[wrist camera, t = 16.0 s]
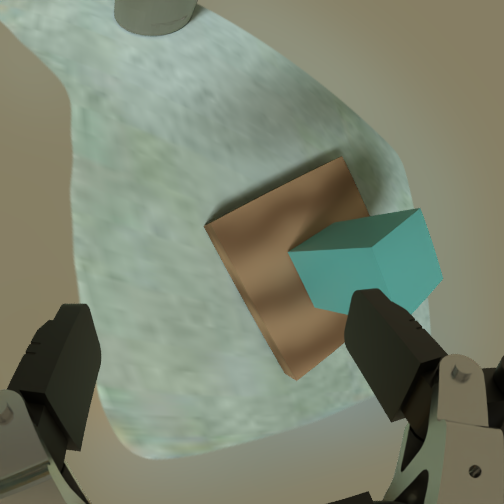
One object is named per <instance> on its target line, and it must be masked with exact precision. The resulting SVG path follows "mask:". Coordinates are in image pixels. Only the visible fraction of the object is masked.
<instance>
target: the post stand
mask: <svg viewBox="0 0 504 504" xmlns="http://www.w3.org/2000/svg"><path fill="white" fill-rule="evenodd" d="M364 217H369V213H368V211H367V209H366V206H365V204H364V202H363V200H362V197H361V195H360V193H359V191H358V188H357V186H356V184H355V182H354V180H353V178H352V176H351V173H350V171H349V169H348V167H347V165H346V163H345V161H344V159H343V157H342V156H341V157H339V158H337V159H335V160H332V161H330V162H328V163H326V164H324V165H322V166H320V167H318V168H316V169H314V170H312V171H309V172H307V173H305V174H303V175H301V176H299V177H297V178H295V179H293V180H291V181H289V182H287V183H285V184H283V185H281V186H279V187H277V188H275V189H274V190H272V191H270V192H268V193H266V194H264V195H262V196H260V197H258V198H256V199H254V200H252V201H250V202H248V203H246V204H244V205H243V206H241V207H239V208H237V209H235V210H233V211H231V212H229V213H227V214H225V215H224V216H222V217H220V218H218V219H216V220H214V221H212V222H211V223H209V224H207V225H205V226H204V228H205V230H206V232H207V233H208V235H209V237H210V239H211V241H212V243H213V245H214V247H215V248H216V250H217V252H218V254H219V256H220V258H221V260H222V262H223V263H224V265H225V267H226V269H227V271H228V273H229V274H230V276H231V278H232V280H233V282H234V284H235V285H236V287H237V289H238V291H239V293H240V295H241V296H242V298H243V300H244V302H245V304H246V305H247V307H248V309H249V311H250V313H251V314H252V316H253V318H254V320H255V322H256V323H257V325H258V327H259V329H260V331H261V332H262V334H263V336H264V338H265V339H266V341H267V343H268V345H269V347H270V348H271V350H272V352H273V354H274V355H275V357H276V359H277V361H278V362H279V364H280V366H281V368H282V369H283V371H284V373H285V374H287V375H288V376H290V377H291V378H293V379H295V380H296V381H297V380H298V379H300V378H301V377H302V376H303V375H305V374H306V373H307V372H309V371H310V370H311V369H312V368H314V367H315V366H316V365H318V364H319V363H320V362H321V361H323V360H324V359H325V358H326V357H328V356H329V355H330V354H331V353H332V352H334V351H335V350H336V349H337V348H338V347H340V346H341V345H342V344H343V343H344V342H345V341H344V330H345V325H346V321H347V316H348V315H346V314H342V313H337V312H332V311H328V310H323V309H319V308H315V307H314V305H313V303H312V301H311V299H310V297H309V295H308V293H307V291H306V289H305V286H304V284H303V282H302V280H301V278H300V276H299V274H298V272H297V270H296V268H295V266H294V264H293V262H292V260H291V258H290V256H289V254H288V252H289V251H290V250H292V249H293V248H295V247H296V246H298V245H300V244H301V243H303V242H304V241H306V240H307V239H309V238H311V237H312V236H314V235H315V234H317V233H318V232H320V231H322V230H323V229H325V228H326V227H328V226H329V225H331V224H333V223H335V222H340V221H346V220H352V219H358V218H364Z"/></svg>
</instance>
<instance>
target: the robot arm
mask: <svg viewBox="0 0 504 504" xmlns="http://www.w3.org/2000/svg"><path fill="white" fill-rule="evenodd" d="M197 1H198V0H115V6H114V16H115V19H116V21H117V23H118V24H119V25H120V26H121V27H122V28H124V29H125V30H127V31H129V32H132V33H134V34H139V35H145V36H159V35H165V34H169V33H172V32H175V31H177V30H179V29H180V28H182V27H183V26H184V25H186V24H187V23H188V21H189V20H190V18H191V16H192V13H193V11H194V8H195V6H196V3H197ZM344 341H345V345H346V348H347V350H348V351H349V353H350V355H351V356H352V358H353V359H354V361H355V363H356V364H357V366H358V368H359V369H360V371H361V373H362V374H363V376H364V378H365V379H366V381H367V383H368V384H369V386H370V387H371V389H372V391H373V392H374V394H375V396H376V398H377V399H378V401H379V403H380V404H381V406H382V407H383V409H384V411H385V413H386V414H387V416H388V418H389V419H390V421H391V422H394V421H397V420H400V419H403V418H406V419H407V421H408V424H407V425H406V427H405V430H404V435H403V440H402V444H401V449H400V453H399V458H398V462H397V466H396V470H395V474H394V477H393V480H392V482H391V484H390V486H389V488H388V490H387V492H386V493H385V495H384V498H383V500H382V501H373V500H372V498H371V496H370V494H369V492H365V493H362V494H359V495H355V496H352V497H349V498H346V499H342V500H339V501H335V502H331V503H328V504H504V356H503V357H502V359H501V361H500V363H499V364H498V366H497V368H484V369H481V367H480V366H479V365H478V364H477V363H476V362H475V361H474V360H472V359H471V358H469V357H466V356H463V355H458V354H451V355H448V354H447V353H446V352H445V351H444V350H443V349H442V348H441V347H440V345H439V344H438V343H437V342H436V341H435V340H434V339H433V338H432V337H431V336H430V334H429V333H428V332H427V331H426V330H425V329H422V326H421V325H420V324H419V323H418V322H417V321H415V318H414V317H413V316H412V315H411V314H410V313H409V312H408V311H407V310H406V309H405V308H403V307H401V306H399V305H398V304H396V303H394V302H393V301H392V302H391V301H390V299H389V298H388V297H387V296H386V295H385V294H384V293H383V292H382V291H381V290H380V289H378V288H372V289H363V290H356V291H354V293H353V295H352V298H351V303H350V307H349V312H348V316H347V321H346V325H345V330H344ZM100 365H101V348H100V344H99V340H98V337H97V334H96V330H95V327H94V323H93V319H92V316H91V312H90V309H89V307H88V305H87V304H63V305H62V306H61V307H60V309H59V311H58V312H57V314H56V316H55V318H54V320H49V321H47V322H46V323H45V324H44V325H43V326H42V327H41V328H39V329H38V330H37V332H36V334H35V335H34V337H33V339H32V341H31V344H30V345H29V346H28V348H27V350H26V354H25V355H24V356H23V357H22V359H21V362H20V363H19V365H18V367H17V369H16V371H15V373H14V375H13V377H12V379H11V381H10V384H9V386H8V388H7V390H0V504H92V503H91V502H90V500H89V498H88V497H87V496H86V494H85V492H84V491H83V489H82V488H81V486H80V484H79V483H78V481H77V479H76V478H75V476H74V474H73V473H72V471H71V469H70V468H69V466H68V464H67V462H66V461H65V460H64V459H65V454H66V449H67V450H74V451H81V446H82V441H83V436H84V431H85V426H86V421H87V417H88V413H89V408H90V404H91V400H92V396H93V392H94V388H95V384H96V380H97V376H98V372H99V369H100Z"/></svg>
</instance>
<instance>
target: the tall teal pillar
mask: <svg viewBox="0 0 504 504" xmlns="http://www.w3.org/2000/svg"><path fill="white" fill-rule="evenodd" d="M288 254H289V256H290V258H291V260H292V262H293V264H294V266H295V268H296V270H297V272H298V274H299V276H300V278H301V280H302V282H303V284H304V286H305V289H306V291H307V293H308V295H309V297H310V299H311V301H312V303H313V305H314V307H315V308H319V309H323V310H328V311H332V312H337V313H342V314H346V315H348V312H349V307H350V303H351V298H352V295H353V293H354V291H356V290H363V289H372V288H378V289H380V290H381V291H382V292H383V293H384V294H385V295H386V296H387V297H388V298H389V299H390V301H391V302H392V301H393V302H394V303H396V304H398V305H399V306H401V307H403V308H405V309H406V310H407V311H408V312H409V313H410V314H412V313H413V312H414V311H415V310H416V309H417V308H418V307H419V305H420V304H421V303H422V302H423V301H424V300H425V299H426V298H427V297H428V296H429V294H430V293H431V292H432V291H433V290H434V289H435V288H436V286H437V285H438V284H439V283H440V282H441V281H442V279H443V277H442V273H441V270H440V266H439V263H438V259H437V256H436V253H435V249H434V246H433V243H432V240H431V237H430V234H429V231H428V228H427V226H426V223H425V220H424V217H423V214H422V212H421V209H420V208H418V209H411V210H405V211H399V212H393V213H387V214H381V215H375V216H369V217H364V218H358V219H352V220H346V221H340V222H335V223H333V224H331V225H329V226H328V227H326V228H325V229H323V230H322V231H320V232H318V233H317V234H315V235H314V236H312V237H311V238H309V239H307V240H306V241H304V242H303V243H301V244H300V245H298V246H296V247H295V248H293V249H292V250H290V251H289V252H288Z"/></svg>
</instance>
